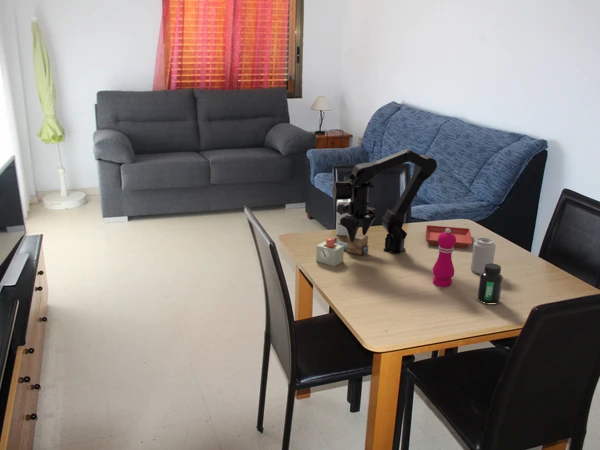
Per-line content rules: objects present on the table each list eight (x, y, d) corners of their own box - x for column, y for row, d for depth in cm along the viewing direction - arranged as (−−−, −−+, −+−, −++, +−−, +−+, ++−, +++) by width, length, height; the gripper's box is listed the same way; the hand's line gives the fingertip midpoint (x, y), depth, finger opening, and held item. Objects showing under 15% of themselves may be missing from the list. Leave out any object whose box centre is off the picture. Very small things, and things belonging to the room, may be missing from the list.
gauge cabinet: (343, 261, 220) (343, 245, 218) (333, 266, 215) (334, 250, 213) (324, 255, 224) (325, 241, 222) (315, 261, 219) (315, 245, 217)
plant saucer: (424, 246, 237) (425, 238, 236) (425, 231, 254) (426, 224, 253) (471, 251, 234) (472, 243, 233) (469, 235, 250) (470, 228, 249)
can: (493, 269, 216) (497, 238, 212) (490, 277, 209) (494, 245, 205) (472, 265, 219) (476, 235, 215) (468, 273, 212) (472, 241, 208)
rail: (367, 253, 228) (368, 245, 227) (364, 255, 225) (364, 247, 224) (334, 244, 236) (335, 237, 235) (330, 246, 233) (330, 239, 232)
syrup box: (350, 235, 246) (352, 202, 241) (335, 235, 246) (337, 201, 241) (349, 231, 251) (351, 198, 246) (335, 230, 251) (336, 197, 247)
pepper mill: (440, 289, 198) (447, 233, 192) (426, 281, 204) (432, 226, 198) (457, 285, 202) (464, 230, 195) (443, 277, 208) (449, 223, 201)
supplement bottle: (490, 307, 187) (495, 272, 183) (472, 299, 192) (477, 264, 188) (503, 301, 191) (509, 267, 187) (486, 294, 196) (490, 260, 192)
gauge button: (336, 249, 218) (336, 239, 217) (331, 251, 216) (331, 241, 215) (328, 247, 220) (329, 237, 219) (324, 249, 218) (324, 239, 216)
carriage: (366, 251, 229) (367, 235, 227) (360, 255, 225) (361, 239, 223) (353, 247, 232) (354, 232, 230) (346, 251, 228) (347, 236, 226)
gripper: (354, 189, 233) (352, 227, 238) (328, 200, 219) (326, 240, 224) (379, 194, 227) (376, 233, 232) (354, 206, 213) (352, 246, 218)
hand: (358, 238), depth 227 cm, fingers open, 9 cm apart
